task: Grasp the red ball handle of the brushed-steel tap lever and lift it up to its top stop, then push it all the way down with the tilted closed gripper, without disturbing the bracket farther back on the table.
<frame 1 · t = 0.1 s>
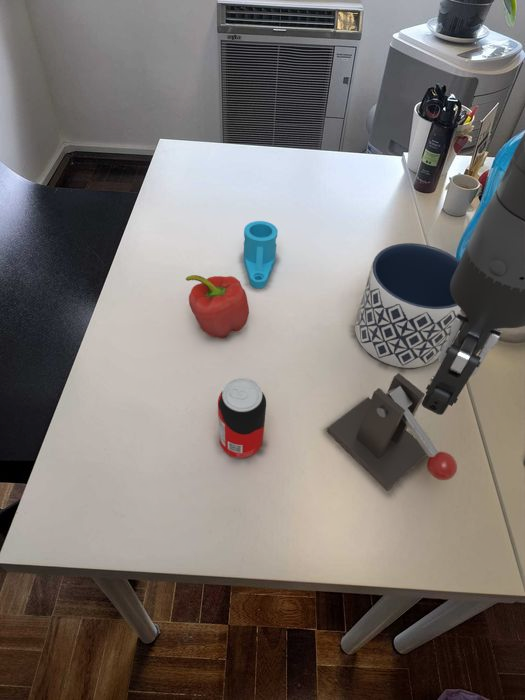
hand: (446, 380, 49), 23 cm above the table, tool pointing down, fingers open, 8 cm apart
tap lever: (419, 434, 61), point 9 cm above the table, hinge at -25.0°
beverage can: (241, 442, 69), on the table
bracket: (258, 269, 95), on the table
vegetable: (218, 325, 84), on the table
planter: (397, 336, 85), on the table
grey lever stand: (376, 443, 70), on the table
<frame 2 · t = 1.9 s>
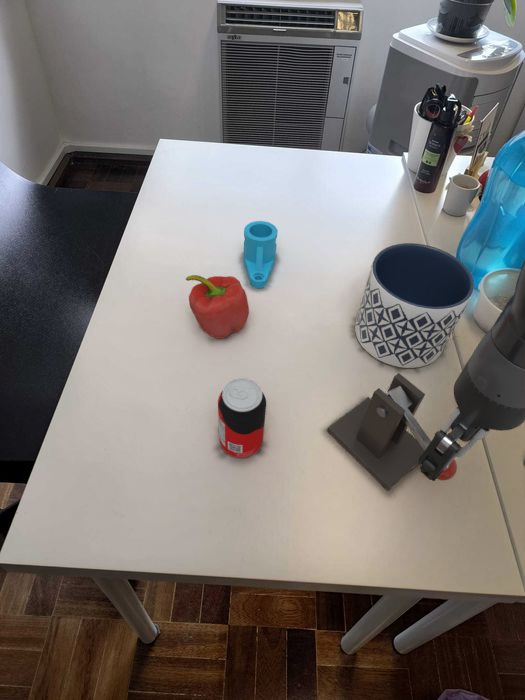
hand: (449, 454, 58), 10 cm above the table, tool pointing down, fingers open, 8 cm apart
nothing on the table moved.
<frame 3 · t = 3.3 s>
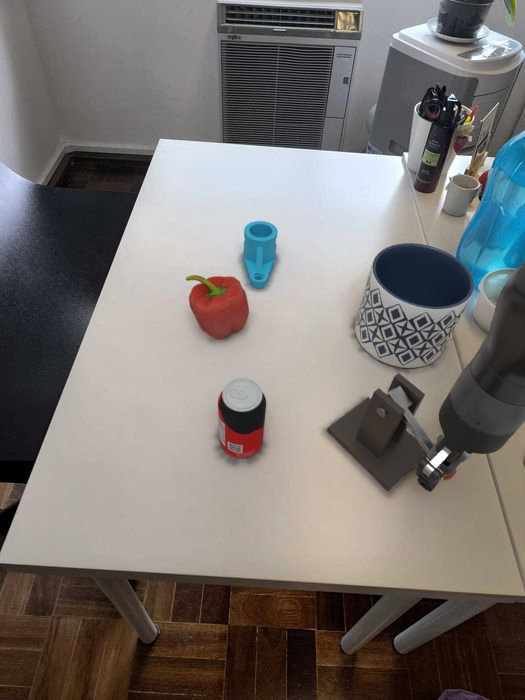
hand: (434, 475, 62), 4 cm above the table, tool pointing down, fingers closed on tap lever, 3 cm apart
tap lever: (419, 434, 61), point 9 cm above the table, hinge at -25.0°, touching gripper
everything else where it was.
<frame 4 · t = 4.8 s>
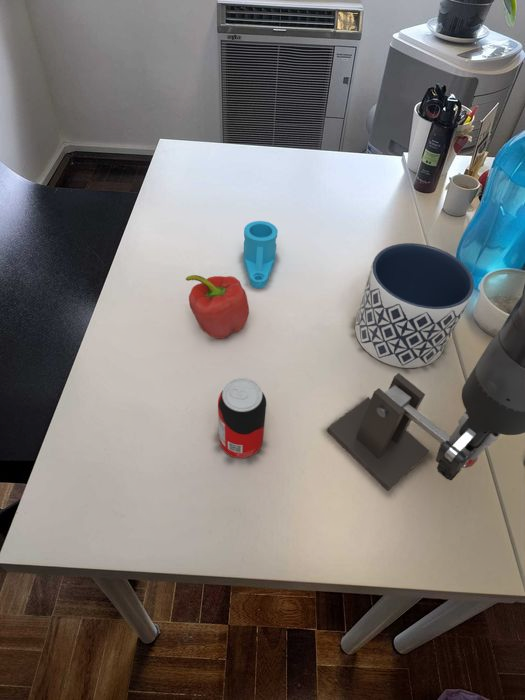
hand: (455, 463, 58), 9 cm above the table, tool pointing down, fingers closed on tap lever, 3 cm apart
tap lever: (428, 426, 59), point 11 cm above the table, hinge at 3.5°, touching gripper
everything else where it was.
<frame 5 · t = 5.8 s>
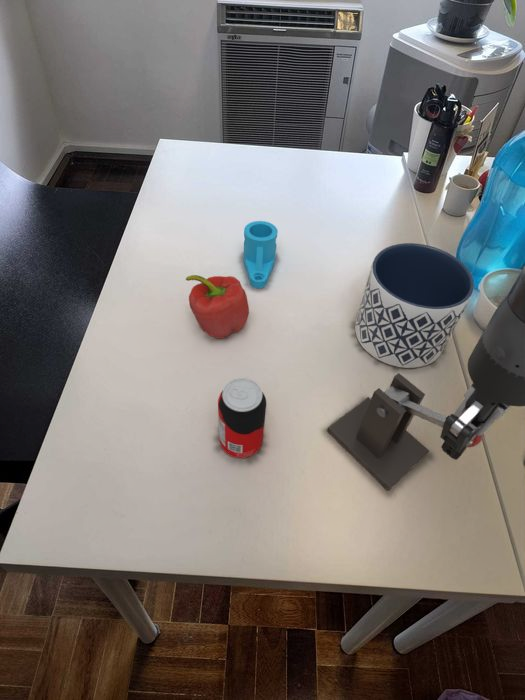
hand: (460, 442, 56), 13 cm above the table, tool pointing down, fingers closed on tap lever, 3 cm apart
tap lever: (430, 415, 57), point 13 cm above the table, hinge at 25.1°, touching gripper
everything else where it was.
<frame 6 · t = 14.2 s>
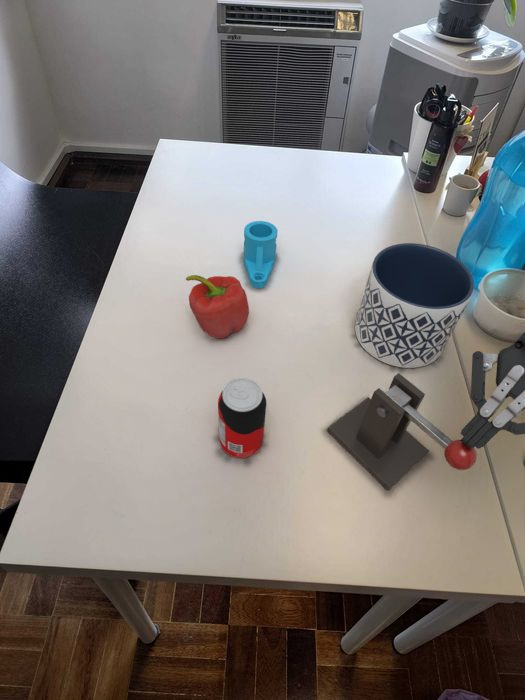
hand: (466, 444, 55), 13 cm above the table, tool tilted 45°, fingers closed
tap lever: (428, 427, 59), point 11 cm above the table, hinge at 0.7°
everything else where it was.
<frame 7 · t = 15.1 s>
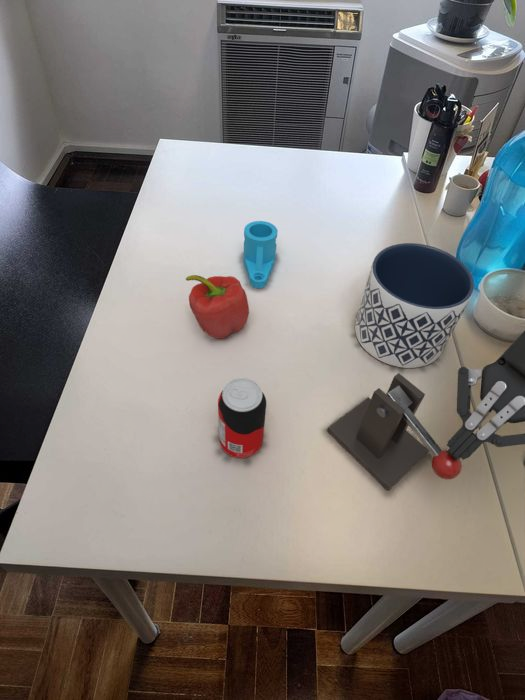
hand: (452, 455, 58), 10 cm above the table, tool tilted 45°, fingers closed
tap lever: (421, 433, 60), point 9 cm above the table, hinge at -19.6°, touching gripper
everything else where it was.
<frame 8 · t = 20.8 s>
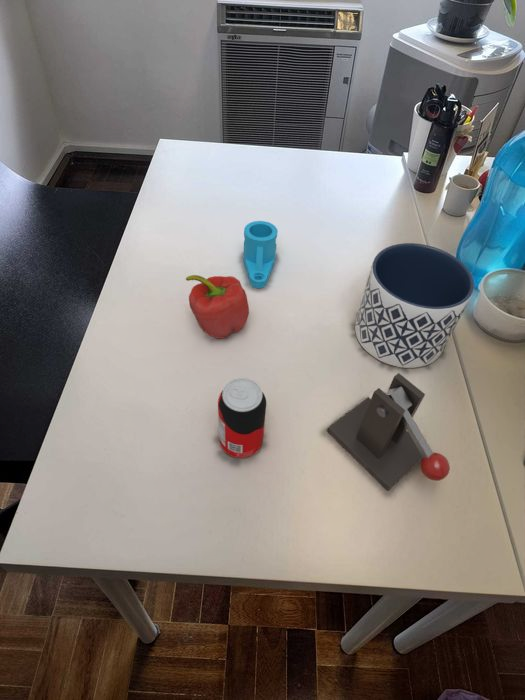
tap lever: (416, 435, 61), point 8 cm above the table, hinge at -32.6°
everything else where it was.
at the end: tap lever reached +25° during the clip, -33° at the end; tap lever at -33° (first picture: -25°); bracket moved 0.2 cm from its start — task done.
